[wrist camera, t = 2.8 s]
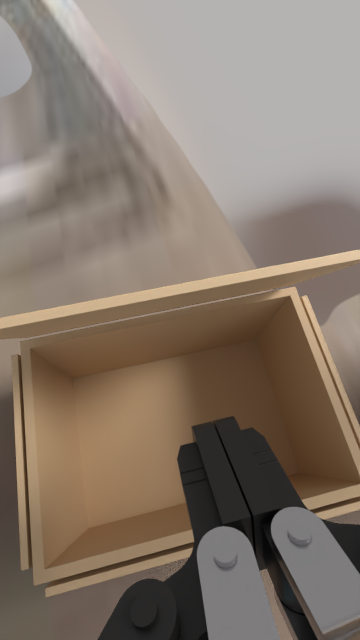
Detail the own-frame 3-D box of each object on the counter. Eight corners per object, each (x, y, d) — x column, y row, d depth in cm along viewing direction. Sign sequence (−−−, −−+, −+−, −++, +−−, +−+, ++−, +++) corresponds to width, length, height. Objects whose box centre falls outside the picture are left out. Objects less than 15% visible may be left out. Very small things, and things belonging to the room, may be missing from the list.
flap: (288, 278, 24) (387, 241, 14) (289, 285, 24) (390, 253, 14) (25, 330, 22) (-74, 328, 12) (27, 337, 22) (-71, 342, 12)
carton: (265, 333, 35) (304, 284, 25) (316, 484, 30) (391, 501, 20) (59, 377, 33) (9, 343, 23) (76, 548, 28) (21, 605, 17)
